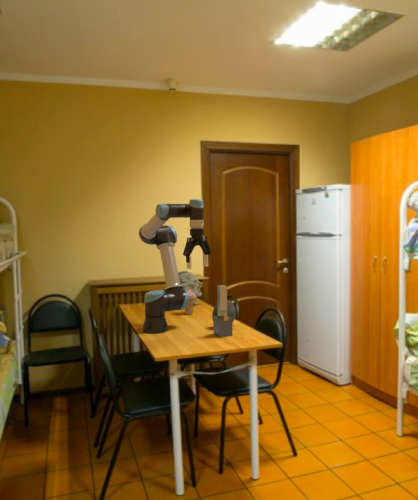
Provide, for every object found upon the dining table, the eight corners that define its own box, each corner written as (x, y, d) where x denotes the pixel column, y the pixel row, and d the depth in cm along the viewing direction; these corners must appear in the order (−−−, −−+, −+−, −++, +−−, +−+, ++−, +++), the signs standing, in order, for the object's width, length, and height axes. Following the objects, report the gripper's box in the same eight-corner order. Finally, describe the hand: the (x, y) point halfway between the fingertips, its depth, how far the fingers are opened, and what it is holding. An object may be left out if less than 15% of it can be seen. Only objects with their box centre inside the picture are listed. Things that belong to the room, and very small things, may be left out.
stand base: (214, 341, 236) (213, 319, 235) (204, 334, 251) (204, 313, 250) (242, 338, 241) (241, 316, 240) (230, 332, 256) (230, 311, 255)
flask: (207, 328, 267) (206, 291, 266) (232, 324, 274) (231, 289, 273) (216, 332, 257) (215, 294, 255) (241, 328, 264) (241, 291, 263)
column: (220, 323, 243) (219, 286, 242) (217, 321, 247) (217, 285, 246) (227, 322, 244) (226, 286, 243) (224, 321, 248) (224, 285, 247)
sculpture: (203, 305, 336) (195, 266, 334) (172, 312, 337) (163, 273, 335) (205, 300, 355) (197, 264, 354) (175, 307, 357) (166, 270, 355)
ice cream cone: (179, 315, 305) (178, 286, 304) (183, 312, 316) (183, 284, 315) (194, 316, 303) (193, 286, 302) (198, 312, 313) (198, 284, 312)
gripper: (186, 228, 228) (186, 270, 229) (217, 227, 247) (217, 265, 248) (175, 228, 233) (176, 269, 234) (206, 227, 252) (207, 265, 253)
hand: (197, 267), depth 241 cm, fingers open, 13 cm apart
